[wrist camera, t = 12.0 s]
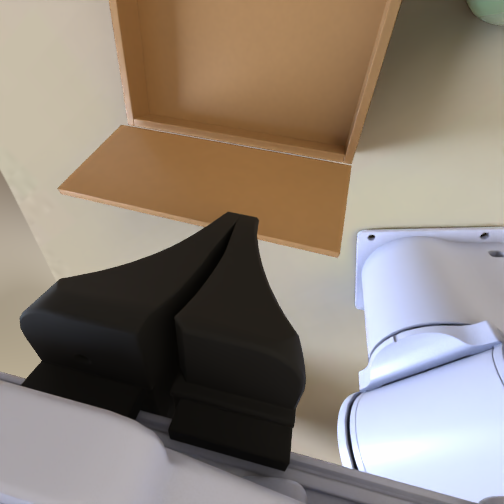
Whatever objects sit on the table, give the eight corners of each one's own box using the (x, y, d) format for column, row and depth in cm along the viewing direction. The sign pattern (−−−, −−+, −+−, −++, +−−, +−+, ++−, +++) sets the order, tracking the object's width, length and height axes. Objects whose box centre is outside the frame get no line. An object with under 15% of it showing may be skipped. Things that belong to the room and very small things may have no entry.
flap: (351, 165, 16) (349, 170, 16) (121, 124, 18) (123, 130, 18) (340, 253, 12) (337, 258, 13) (56, 188, 15) (60, 194, 15)
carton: (350, 153, 18) (351, 164, 16) (148, 119, 21) (127, 125, 19) (452, -184, 11) (476, -239, 9) (114, -177, 13) (73, -220, 11)
